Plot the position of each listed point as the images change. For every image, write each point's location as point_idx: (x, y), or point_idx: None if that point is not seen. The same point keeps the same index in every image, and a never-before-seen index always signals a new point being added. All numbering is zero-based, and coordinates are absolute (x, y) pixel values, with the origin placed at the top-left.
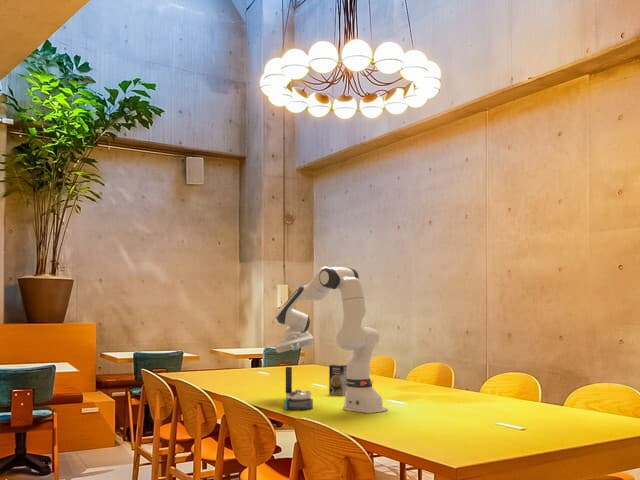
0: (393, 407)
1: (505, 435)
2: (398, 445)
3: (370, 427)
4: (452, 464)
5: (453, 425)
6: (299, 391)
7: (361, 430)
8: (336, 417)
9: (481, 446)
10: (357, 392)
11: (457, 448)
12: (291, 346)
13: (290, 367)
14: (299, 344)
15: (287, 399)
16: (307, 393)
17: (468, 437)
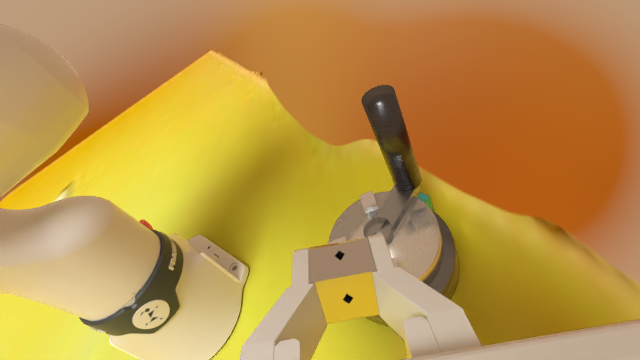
0: (104, 352)
1: (107, 151)
2: (228, 72)
3: (233, 124)
4: (209, 53)
5: (121, 179)
6: (370, 221)
7: (250, 104)
8: (276, 170)
9: (159, 103)
10: (177, 239)
11: (182, 88)
12: (417, 281)
13: (366, 93)
14: (255, 347)
15: (418, 196)
16: (340, 235)
17: (147, 127)
